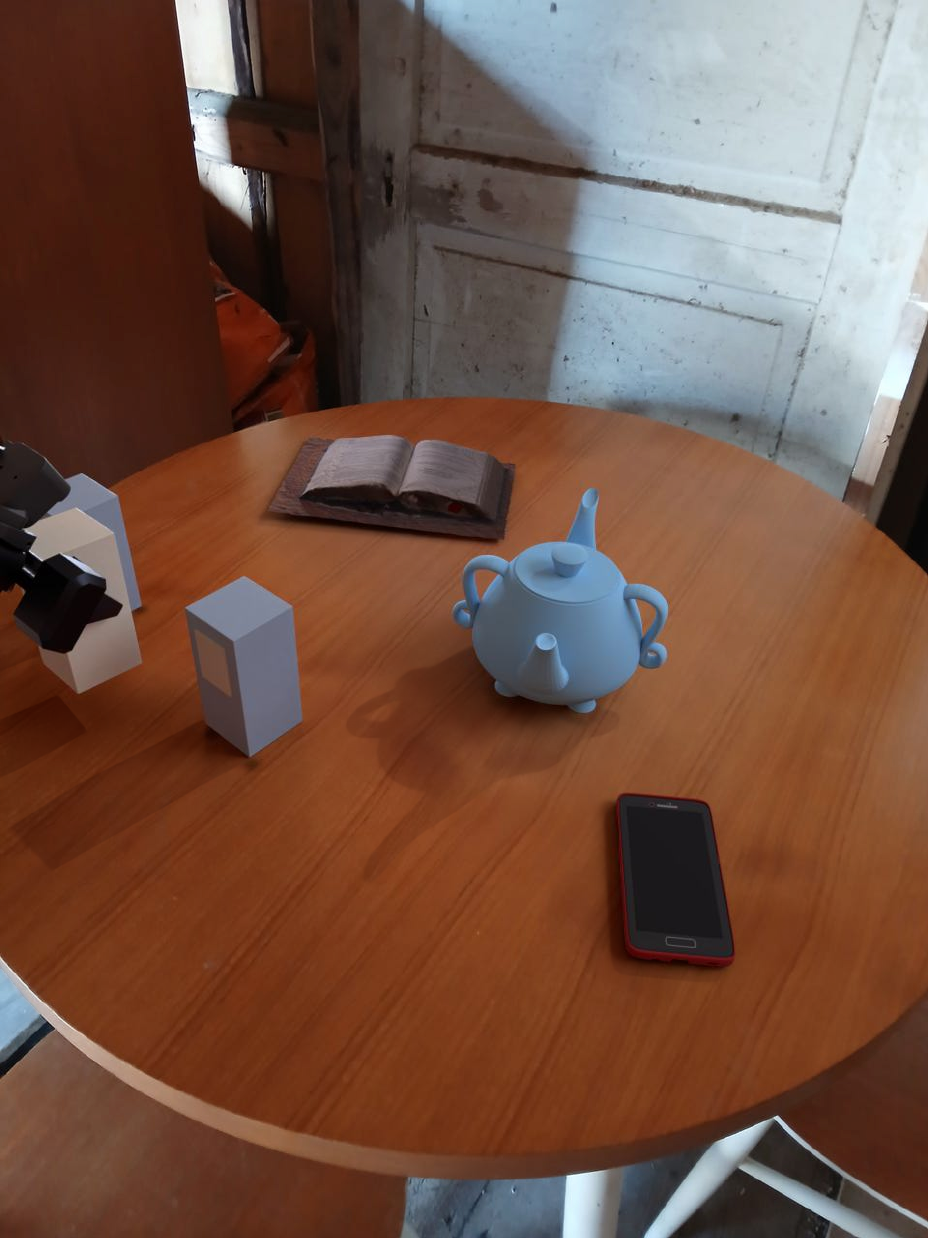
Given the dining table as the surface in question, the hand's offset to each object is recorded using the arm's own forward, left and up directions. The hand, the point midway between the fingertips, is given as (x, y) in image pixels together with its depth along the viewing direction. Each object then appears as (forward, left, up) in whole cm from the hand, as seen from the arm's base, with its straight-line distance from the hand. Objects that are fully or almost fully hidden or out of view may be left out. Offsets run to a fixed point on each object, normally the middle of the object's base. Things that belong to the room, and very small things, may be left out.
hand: (95, 591), depth 75 cm
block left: (0, +13, -11) cm, 17 cm away
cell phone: (+35, -37, -11) cm, 52 cm away
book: (+37, +24, -11) cm, 46 cm away
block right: (+10, -9, -11) cm, 17 cm away
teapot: (+38, -13, -11) cm, 42 cm away
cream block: (-2, -1, -7) cm, 7 cm away
